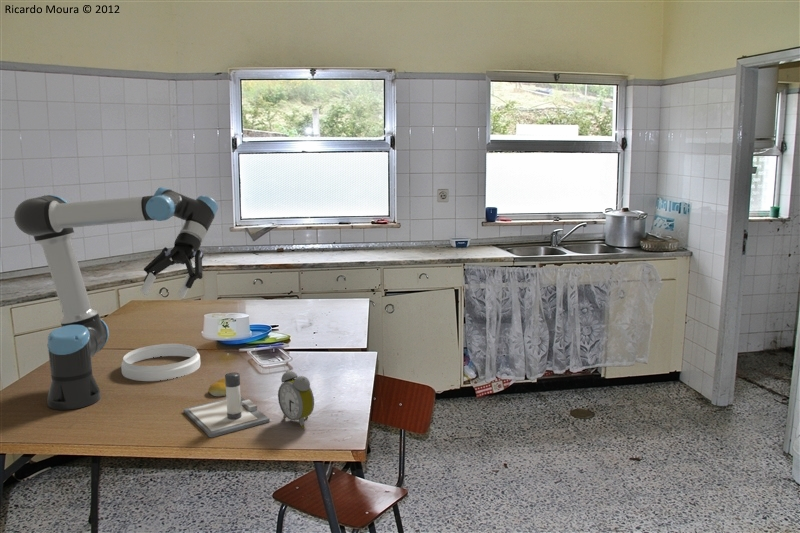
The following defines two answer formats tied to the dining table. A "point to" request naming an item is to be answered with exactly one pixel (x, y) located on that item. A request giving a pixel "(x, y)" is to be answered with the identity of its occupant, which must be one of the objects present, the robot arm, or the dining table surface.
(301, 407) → the alarm clock
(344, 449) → the dining table surface
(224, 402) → the clipboard
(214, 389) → the bread roll
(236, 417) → the white grey cylinder
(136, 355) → the white hollow ring
